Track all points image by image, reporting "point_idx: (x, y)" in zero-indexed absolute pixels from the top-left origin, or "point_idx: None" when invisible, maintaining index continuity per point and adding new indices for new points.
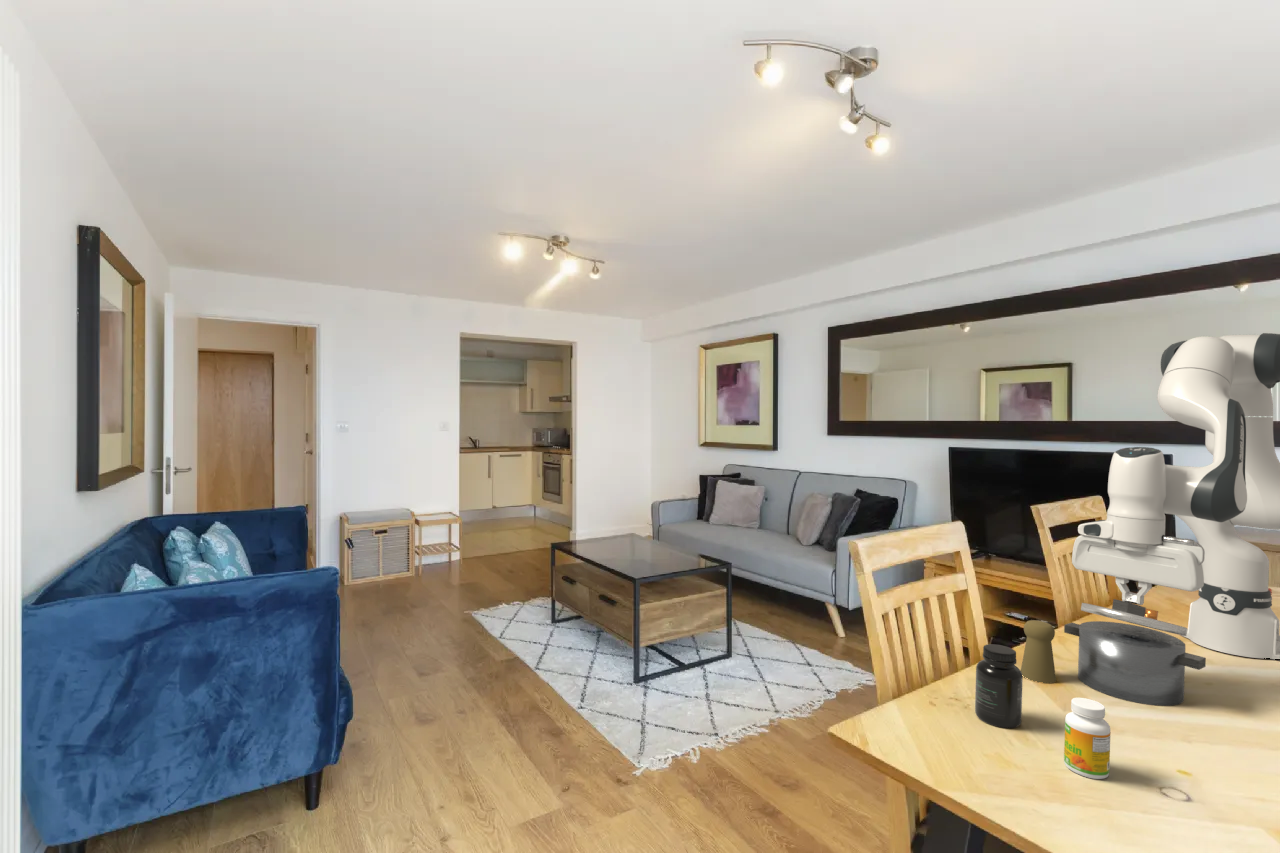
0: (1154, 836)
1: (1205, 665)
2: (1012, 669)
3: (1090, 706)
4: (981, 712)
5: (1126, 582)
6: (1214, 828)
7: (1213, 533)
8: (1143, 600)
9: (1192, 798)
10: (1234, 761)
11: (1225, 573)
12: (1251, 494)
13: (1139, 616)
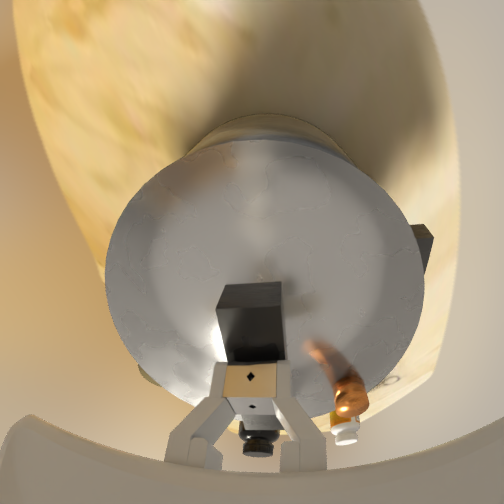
0: (386, 405)
1: (425, 226)
2: (273, 441)
3: (349, 443)
4: None
5: (215, 449)
6: (410, 386)
7: None
8: (290, 374)
9: (400, 377)
10: (428, 314)
11: None
12: None
13: (330, 410)
